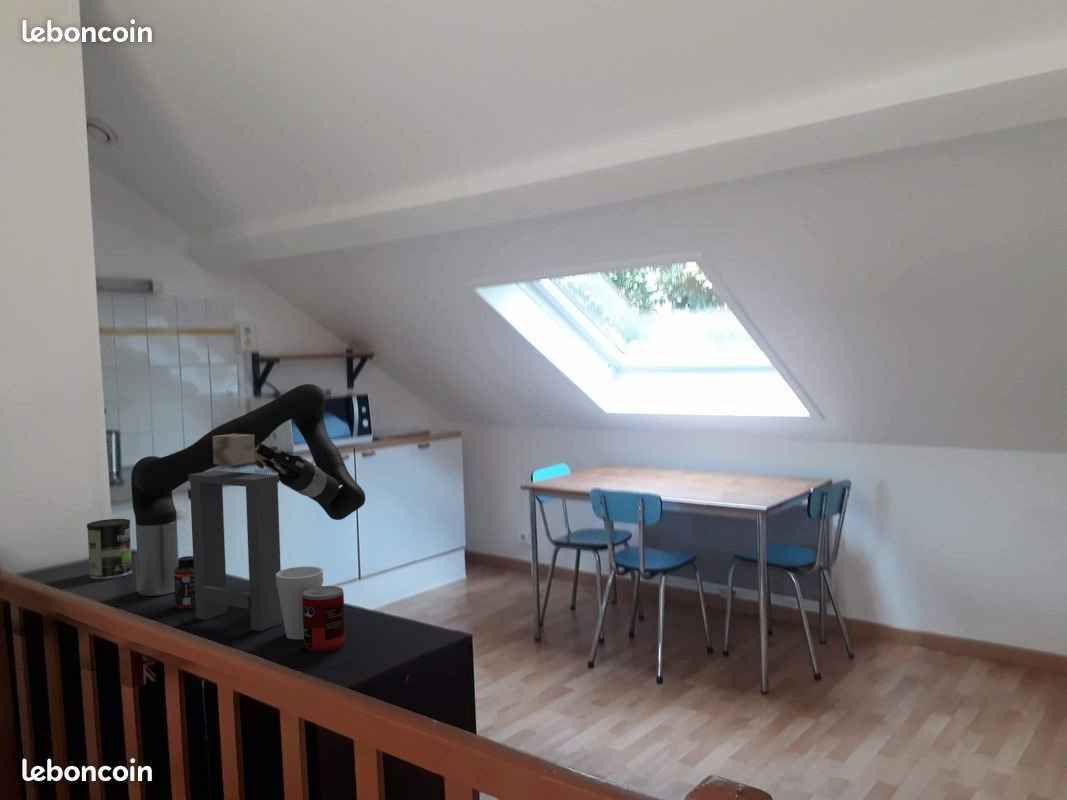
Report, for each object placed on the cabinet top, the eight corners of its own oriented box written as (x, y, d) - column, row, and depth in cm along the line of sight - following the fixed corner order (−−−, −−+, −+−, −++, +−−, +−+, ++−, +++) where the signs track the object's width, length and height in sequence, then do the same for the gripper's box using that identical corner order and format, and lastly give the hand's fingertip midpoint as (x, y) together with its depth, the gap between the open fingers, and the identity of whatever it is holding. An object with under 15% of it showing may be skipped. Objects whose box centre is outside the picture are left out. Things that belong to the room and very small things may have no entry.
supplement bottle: (193, 610, 191) (191, 561, 190) (169, 609, 192) (167, 560, 191) (208, 602, 197) (206, 555, 196) (185, 601, 198) (183, 554, 197)
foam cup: (282, 645, 167) (280, 580, 166) (274, 631, 175) (271, 570, 174) (330, 636, 171) (328, 574, 171) (319, 623, 180) (317, 564, 179)
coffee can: (139, 569, 229) (137, 518, 228) (120, 579, 218) (118, 526, 218) (102, 569, 229) (99, 518, 228) (81, 580, 218) (78, 526, 218)
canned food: (307, 639, 170) (305, 586, 169) (347, 638, 171) (346, 584, 170) (300, 653, 162) (298, 597, 162) (342, 651, 163) (340, 595, 162)
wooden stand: (194, 618, 185) (188, 474, 183) (219, 609, 191) (214, 470, 189) (259, 632, 175) (253, 480, 173) (284, 622, 181) (279, 475, 179)
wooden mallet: (213, 464, 180) (212, 436, 180) (263, 456, 192) (262, 430, 192) (233, 465, 177) (232, 437, 177) (282, 457, 189) (281, 431, 189)
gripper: (286, 460, 204) (237, 431, 191) (330, 463, 198) (282, 433, 184) (276, 489, 201) (225, 461, 188) (320, 493, 195) (270, 464, 181)
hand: (253, 447), depth 186 cm, fingers closed on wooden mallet, 3 cm apart
